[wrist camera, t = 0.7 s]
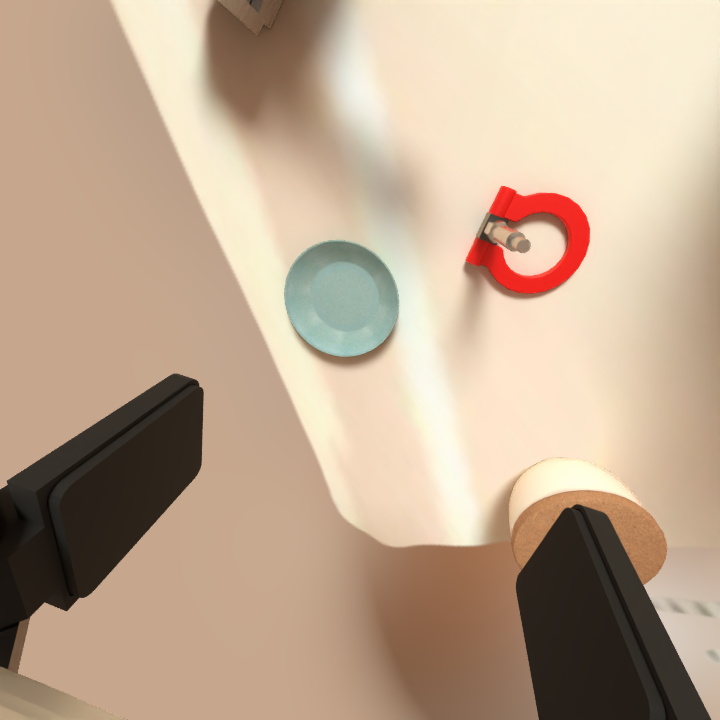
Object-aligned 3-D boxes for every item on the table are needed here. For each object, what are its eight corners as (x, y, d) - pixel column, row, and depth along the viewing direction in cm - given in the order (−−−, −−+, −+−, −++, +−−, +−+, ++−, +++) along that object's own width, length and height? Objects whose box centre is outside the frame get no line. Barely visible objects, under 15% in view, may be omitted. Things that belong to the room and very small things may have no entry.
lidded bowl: (612, 528, 42) (665, 628, 32) (498, 520, 45) (514, 610, 35) (629, 437, 37) (697, 523, 27) (500, 435, 40) (519, 512, 30)
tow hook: (606, 214, 30) (504, 173, 30) (716, 227, 19) (552, 162, 19) (549, 303, 34) (459, 267, 34) (612, 360, 23) (476, 306, 23)
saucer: (321, 362, 41) (315, 370, 39) (273, 265, 38) (263, 269, 36) (418, 328, 37) (416, 335, 35) (373, 217, 34) (369, 218, 32)
